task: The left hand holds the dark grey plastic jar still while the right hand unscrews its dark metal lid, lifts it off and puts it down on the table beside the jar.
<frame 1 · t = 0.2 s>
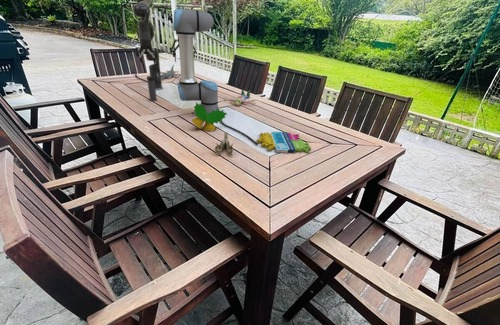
left hand: (148, 63, 189), 29 cm above the table, tool pointing down, fingers open, 8 cm apart
right hand: (184, 61, 211), 28 cm above the table, tool pointing down, fingers open, 13 cm apart
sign: (281, 143, 152), on the table
ornament: (209, 128, 165), on the table
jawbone: (224, 151, 138), on the table
airplane: (168, 77, 282), on the table
toy: (241, 101, 221), on the table
jar: (153, 100, 209), on the table
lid: (150, 77, 200), point 18 cm above the table, screwed on, not yet turned
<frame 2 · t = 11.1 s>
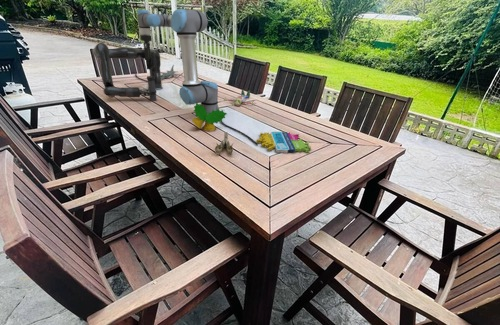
left hand: (155, 92, 206), 6 cm above the table, tool horizontal, fingers closed on jar, 5 cm apart
right hand: (149, 68, 197), 25 cm above the table, tool pointing down, fingers open, 8 cm apart
jar: (153, 100, 209), on the table, touching left hand
everything else where it was.
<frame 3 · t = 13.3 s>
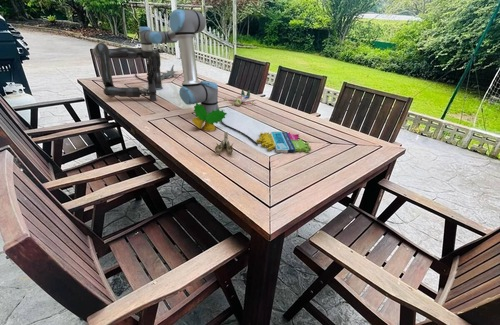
left hand: (155, 92, 206), 6 cm above the table, tool horizontal, fingers closed on jar, 5 cm apart
right hand: (151, 82, 202), 14 cm above the table, tool pointing down, fingers closed on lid, 5 cm apart
jar: (153, 100, 209), on the table, touching left hand
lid: (150, 77, 200), point 18 cm above the table, screwed on, not yet turned, touching right hand
everything else where it was.
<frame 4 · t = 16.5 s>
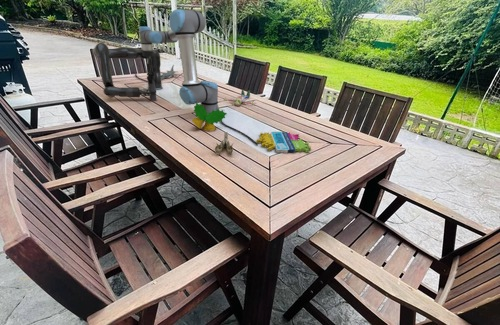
left hand: (155, 92, 206), 6 cm above the table, tool horizontal, fingers closed on jar, 5 cm apart
right hand: (151, 82, 202), 14 cm above the table, tool pointing down, fingers closed on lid, 6 cm apart
jar: (153, 100, 209), on the table, touching left hand
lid: (150, 77, 200), point 18 cm above the table, turned 104° so far, risen 0.1 cm, still on its thread, touching right hand
everything else where it was.
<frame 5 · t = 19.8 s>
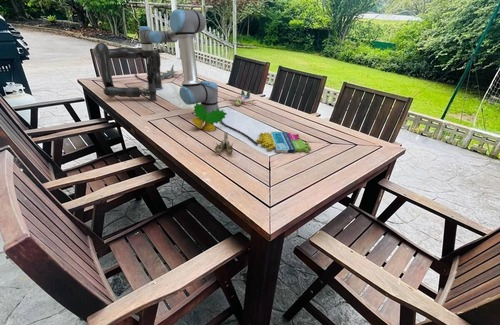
left hand: (155, 92, 206), 6 cm above the table, tool horizontal, fingers closed on jar, 5 cm apart
right hand: (151, 82, 202), 14 cm above the table, tool pointing down, fingers closed on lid, 6 cm apart
jar: (153, 100, 209), on the table, touching left hand
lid: (150, 76, 200), point 18 cm above the table, turned 208° so far, risen 0.3 cm, still on its thread, touching right hand
everything else where it was.
when the right hand's fingers open (0 cm above the table, at t = 30.0 s): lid drops 2 cm, point 2 cm above the table.
when the left hand's fingers open (6 cm above the table, at t = 30.7 s): jar stays where it is, on the table.
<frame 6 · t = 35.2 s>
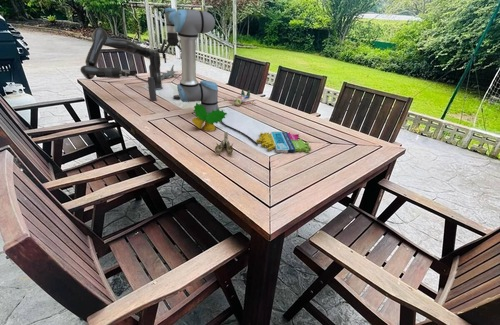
left hand: (136, 73, 196), 21 cm above the table, tool horizontal, fingers open, 8 cm apart
right hand: (174, 62, 202), 28 cm above the table, tool pointing down, fingers open, 13 cm apart
jar: (153, 100, 209), on the table
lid: (176, 96, 216), point 2 cm above the table, off its thread
everything else where it was.
at the end: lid came off its thread; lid point 1.9 cm above the table; the left hand is holding nothing; the right hand is holding nothing; jar tilted 0°; jar moved 0.0 cm from its start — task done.
